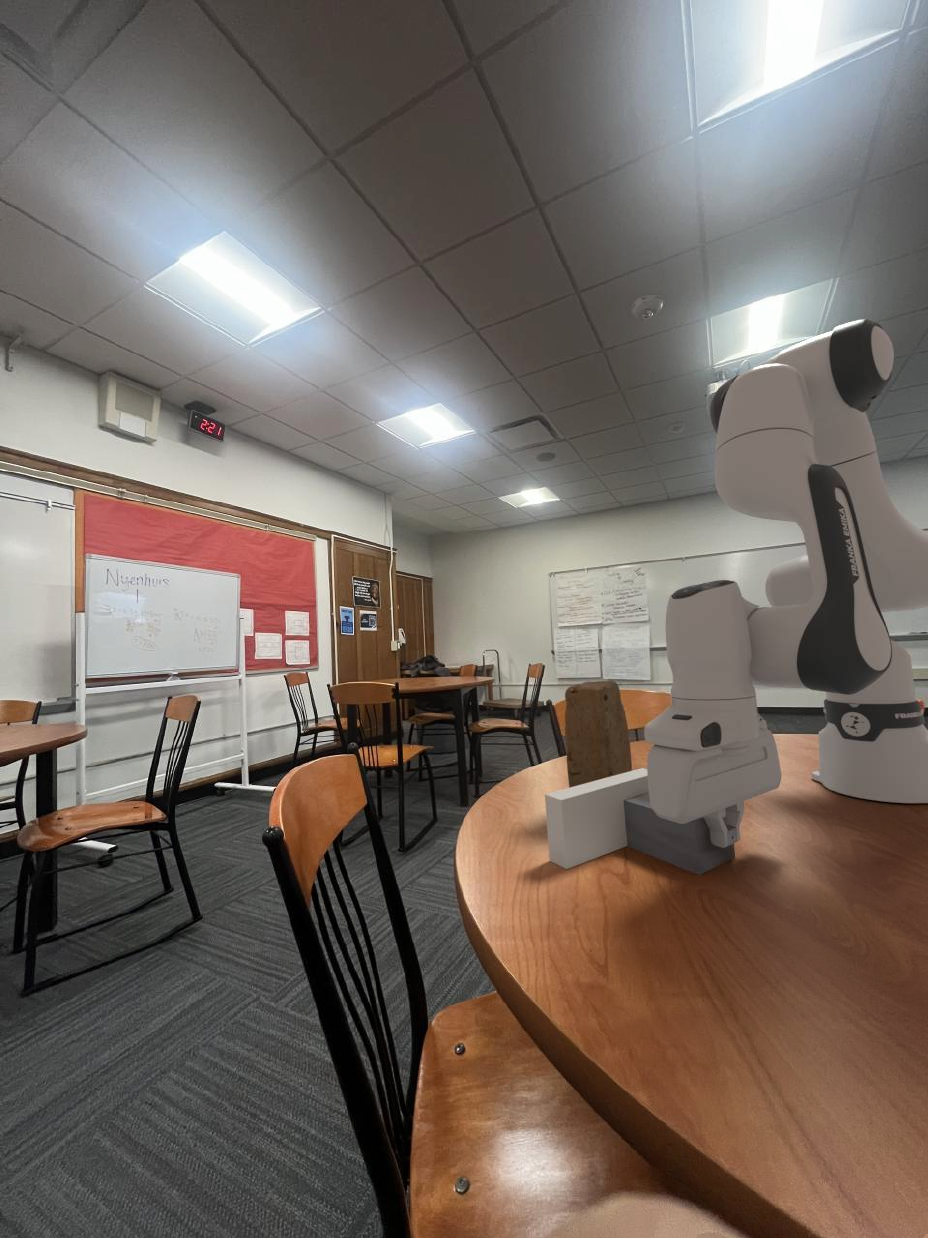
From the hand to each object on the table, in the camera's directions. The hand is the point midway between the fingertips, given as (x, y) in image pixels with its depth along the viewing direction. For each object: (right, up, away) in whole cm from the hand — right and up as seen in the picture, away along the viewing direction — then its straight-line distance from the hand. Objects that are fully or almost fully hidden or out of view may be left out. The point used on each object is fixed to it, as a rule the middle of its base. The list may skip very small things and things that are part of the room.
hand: (725, 843), depth 55 cm
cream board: (-11, -4, +8) cm, 14 cm away
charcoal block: (-3, -3, +5) cm, 7 cm away
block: (-8, -5, +21) cm, 23 cm away
